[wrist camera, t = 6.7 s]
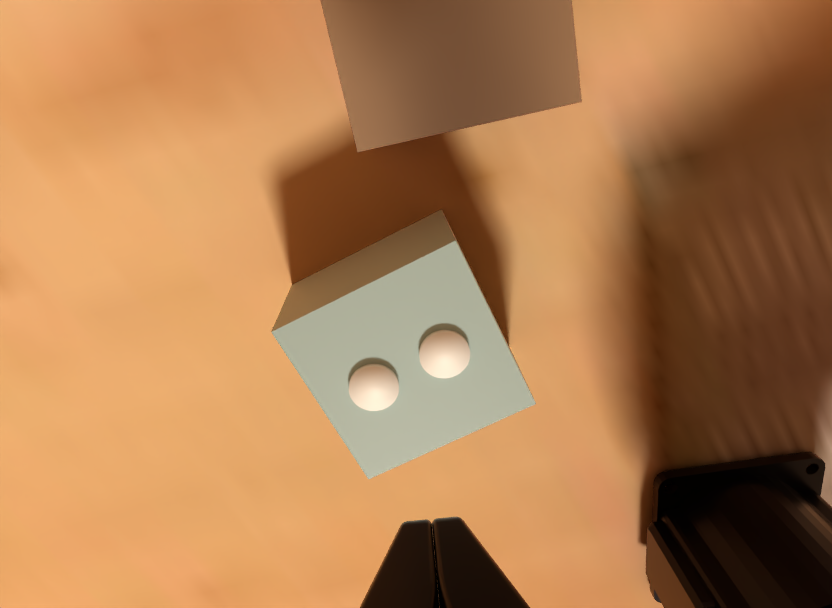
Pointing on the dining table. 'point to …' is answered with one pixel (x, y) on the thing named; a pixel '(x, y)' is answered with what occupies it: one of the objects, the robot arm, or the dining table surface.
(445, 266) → the dotted block two
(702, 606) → the robot arm
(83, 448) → the dining table surface
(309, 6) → the dining table surface
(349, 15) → the walnut block
